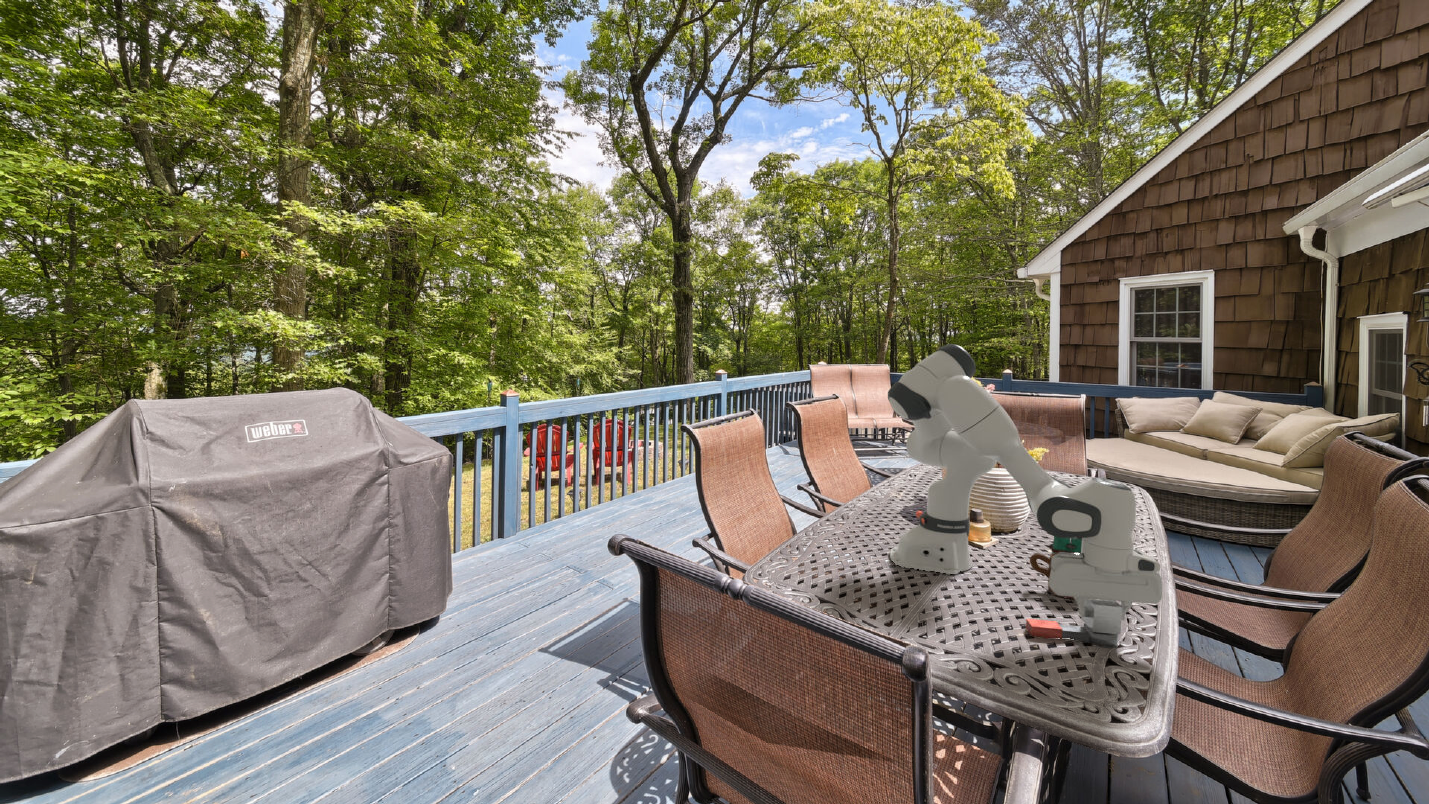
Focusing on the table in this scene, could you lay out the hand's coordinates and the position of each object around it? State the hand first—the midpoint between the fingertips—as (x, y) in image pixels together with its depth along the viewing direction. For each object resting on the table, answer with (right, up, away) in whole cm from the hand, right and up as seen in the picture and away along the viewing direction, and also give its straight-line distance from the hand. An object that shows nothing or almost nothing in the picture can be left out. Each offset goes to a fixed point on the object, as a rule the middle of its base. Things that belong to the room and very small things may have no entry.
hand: (1101, 617), depth 116 cm
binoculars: (+20, -1, +43) cm, 48 cm away
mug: (+5, -3, +24) cm, 25 cm away
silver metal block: (0, -2, 0) cm, 2 cm away
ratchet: (-5, -5, +2) cm, 7 cm away
